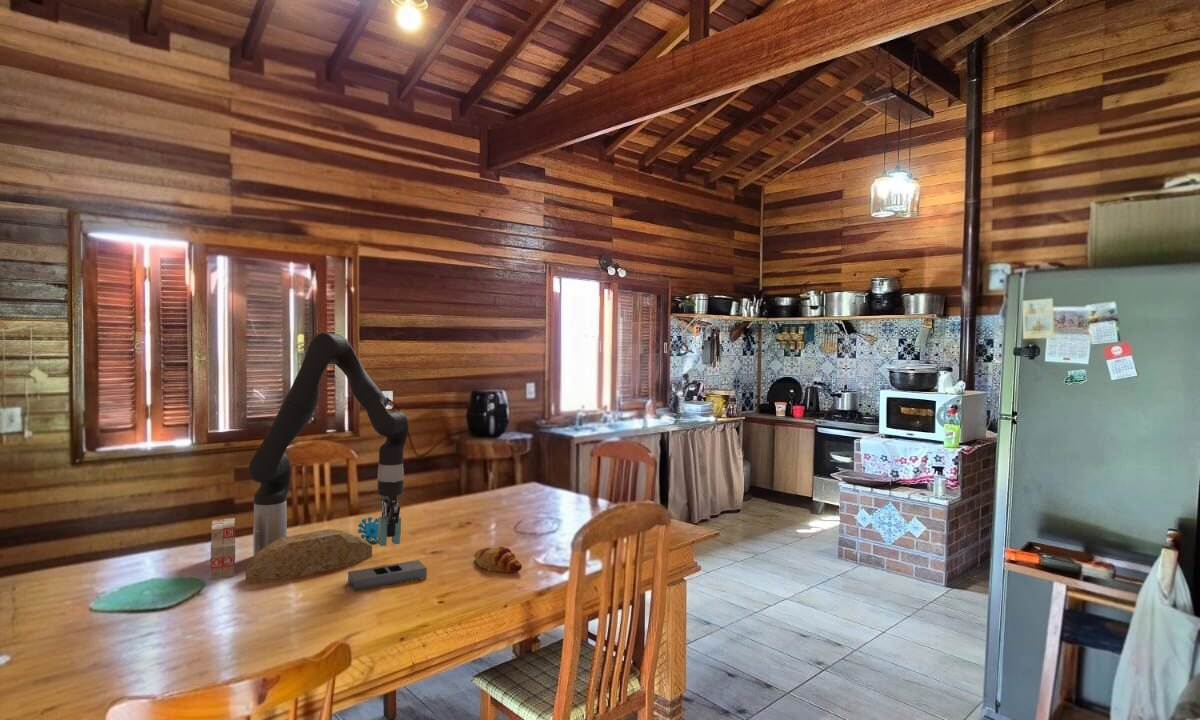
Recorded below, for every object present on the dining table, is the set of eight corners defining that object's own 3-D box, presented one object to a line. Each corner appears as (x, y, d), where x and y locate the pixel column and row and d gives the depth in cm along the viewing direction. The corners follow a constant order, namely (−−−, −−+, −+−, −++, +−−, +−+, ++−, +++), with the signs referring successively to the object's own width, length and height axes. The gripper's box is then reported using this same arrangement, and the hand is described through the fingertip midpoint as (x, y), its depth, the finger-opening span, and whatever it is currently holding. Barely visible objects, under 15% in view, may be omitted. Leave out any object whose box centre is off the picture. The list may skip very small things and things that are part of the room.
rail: (354, 591, 182) (354, 580, 182) (348, 582, 189) (348, 571, 188) (426, 578, 192) (426, 567, 192) (418, 570, 199) (418, 560, 199)
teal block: (380, 546, 200) (380, 519, 199) (377, 543, 202) (378, 517, 202) (400, 543, 203) (401, 517, 202) (397, 540, 205) (398, 514, 205)
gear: (362, 542, 221) (356, 516, 226) (355, 551, 224) (350, 526, 229) (393, 540, 228) (387, 515, 234) (386, 549, 231) (380, 524, 237)
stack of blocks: (235, 576, 192) (235, 534, 192) (210, 580, 189) (209, 537, 189) (235, 555, 211) (235, 517, 211) (212, 558, 208) (212, 519, 208)
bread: (253, 588, 184) (253, 552, 184) (241, 577, 192) (241, 543, 192) (377, 559, 209) (377, 528, 209) (362, 551, 217) (362, 521, 217)
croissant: (468, 572, 208) (458, 552, 205) (490, 551, 215) (481, 531, 212) (514, 588, 194) (504, 567, 191) (536, 564, 201) (526, 543, 198)
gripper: (372, 474, 206) (371, 530, 206) (384, 483, 194) (382, 542, 194) (396, 472, 210) (395, 527, 210) (409, 481, 198) (408, 539, 198)
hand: (389, 534), depth 202 cm, fingers closed on teal block, 3 cm apart
